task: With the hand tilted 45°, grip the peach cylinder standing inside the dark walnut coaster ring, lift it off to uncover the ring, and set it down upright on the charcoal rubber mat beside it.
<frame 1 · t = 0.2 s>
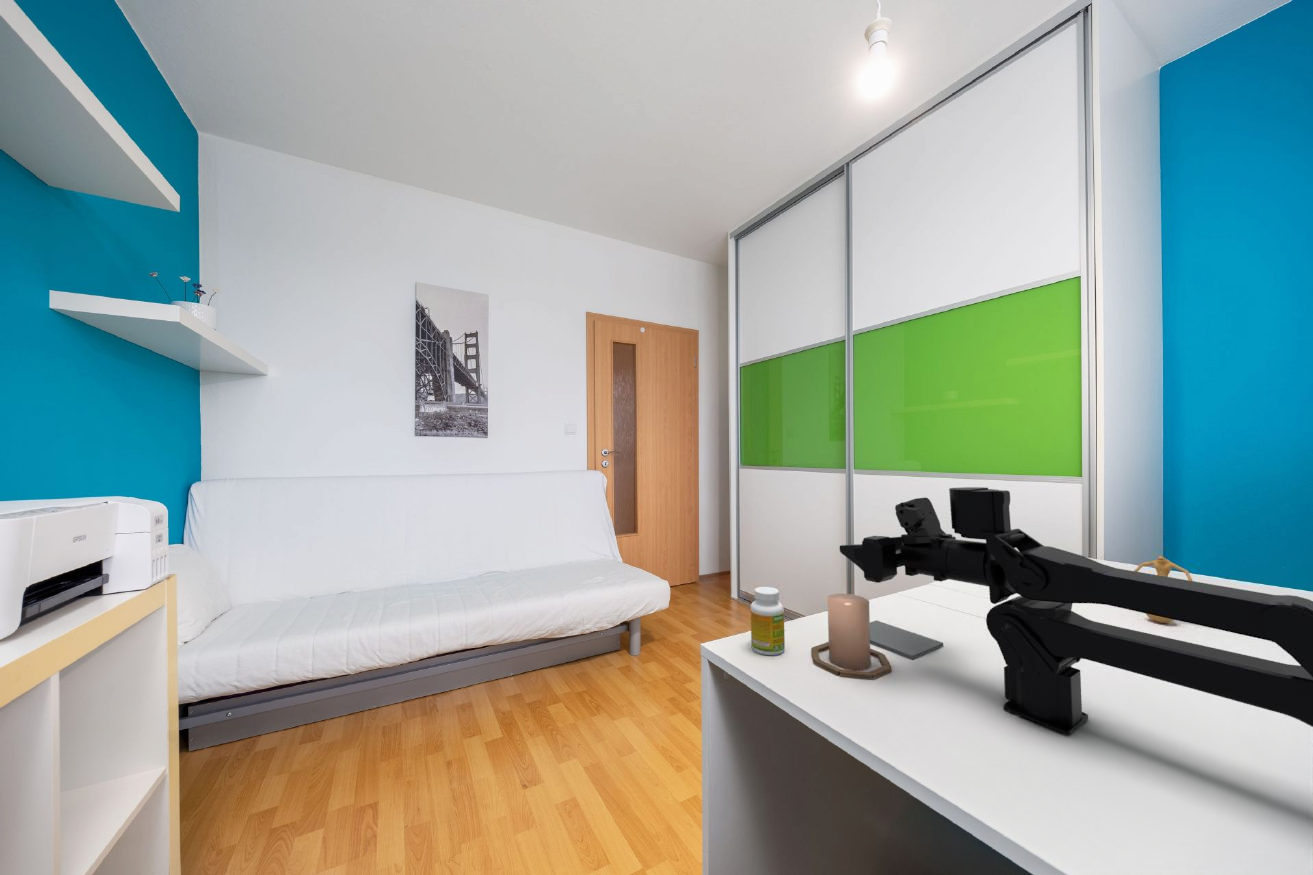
hand: (857, 545, 78), 17 cm above the table, tool horizontal, fingers open, 9 cm apart
rubber mat: (892, 639, 79), on the table
figurine: (1162, 622, 86), on the table
supplement bottle: (767, 650, 76), on the table
peach cylinder: (849, 661, 72), resting in coaster ring
coaster ring: (849, 660, 72), on the table
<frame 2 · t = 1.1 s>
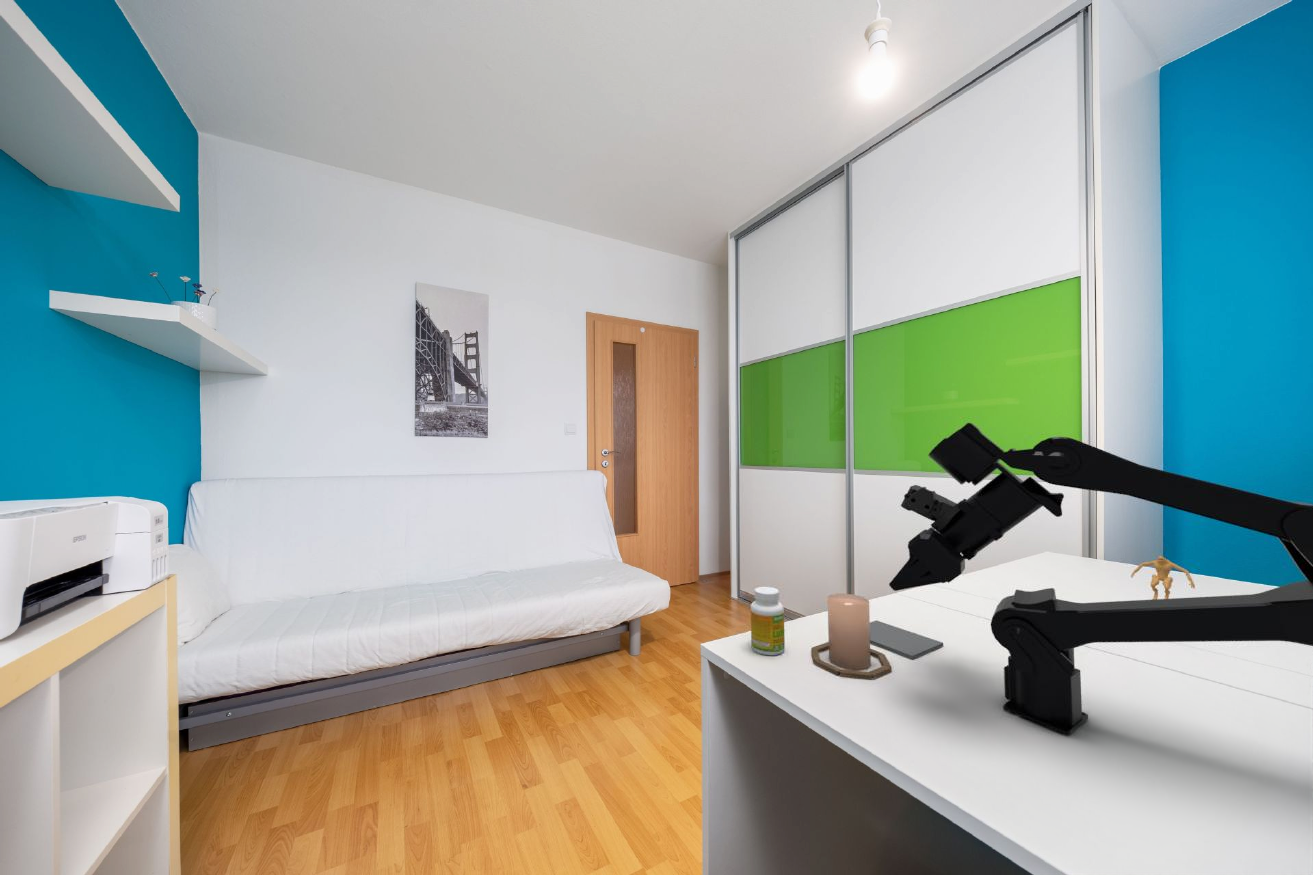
hand: (899, 580, 67), 14 cm above the table, tool tilted 45°, fingers open, 9 cm apart
nothing on the table moved.
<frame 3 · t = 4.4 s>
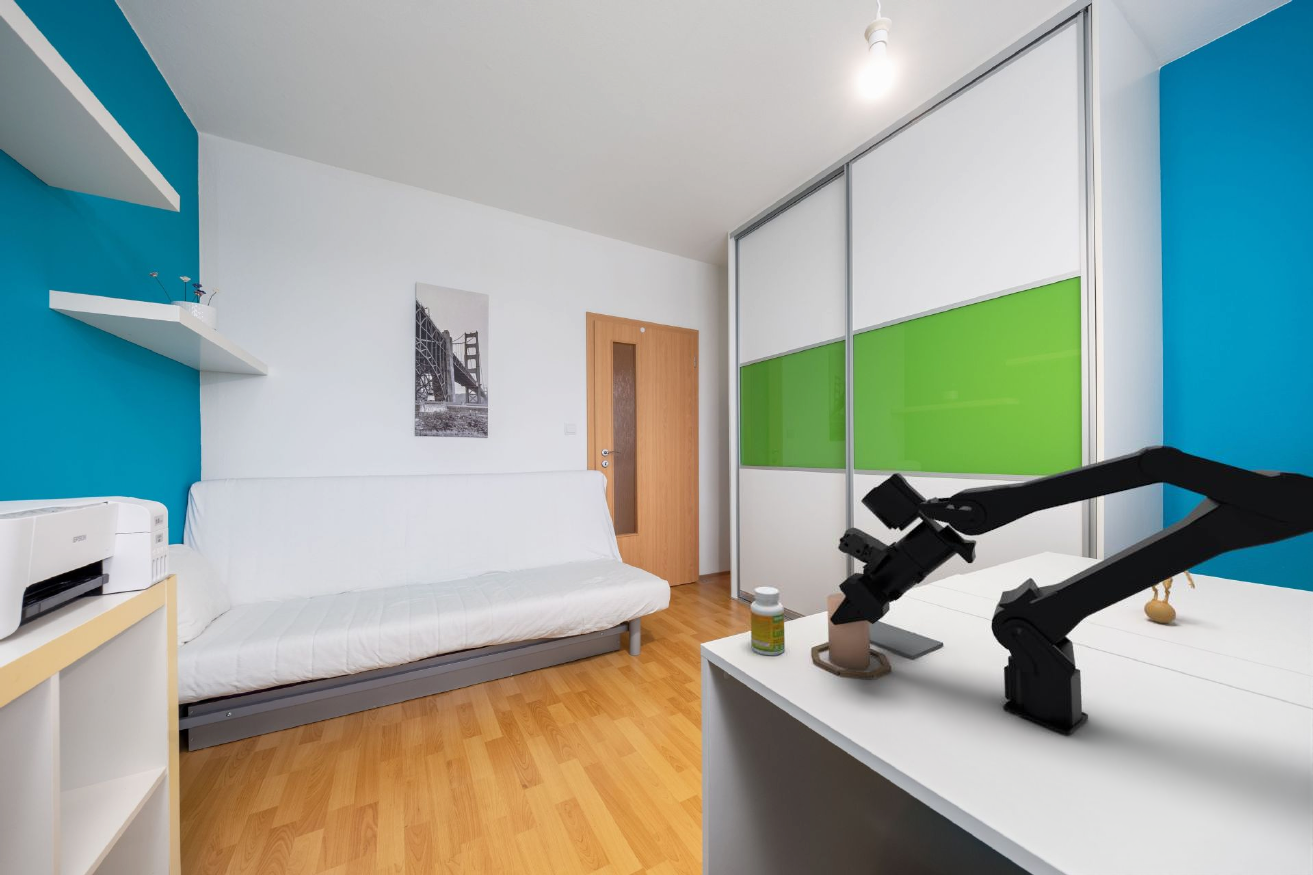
hand: (839, 616, 73), 7 cm above the table, tool tilted 45°, fingers closed on peach cylinder, 6 cm apart
peach cylinder: (849, 660, 72), resting in coaster ring, touching gripper
everything else where it was.
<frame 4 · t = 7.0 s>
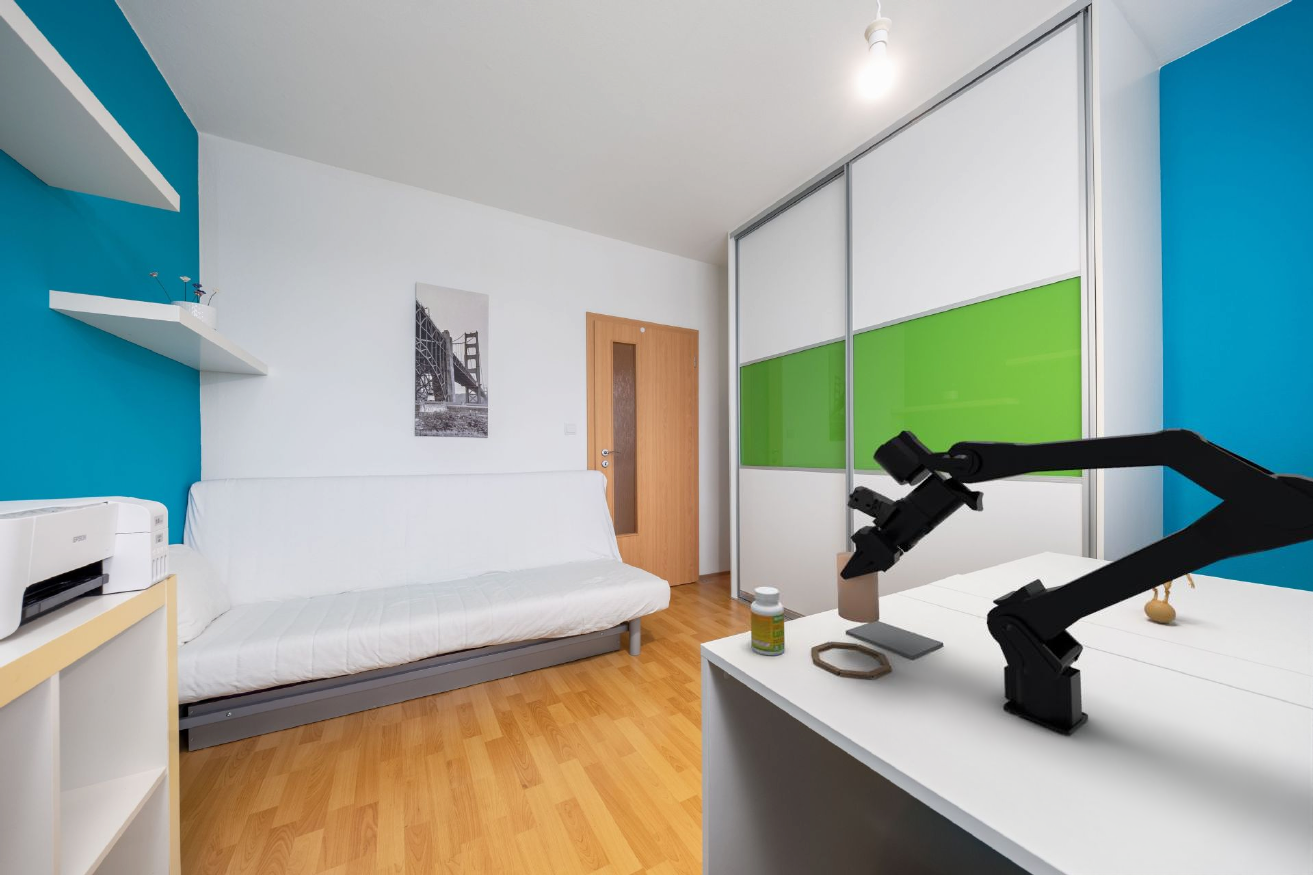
hand: (848, 572, 74), 13 cm above the table, tool tilted 45°, fingers closed on peach cylinder, 6 cm apart
peach cylinder: (858, 615, 73), point 6 cm above the table, touching gripper
everything else where it was.
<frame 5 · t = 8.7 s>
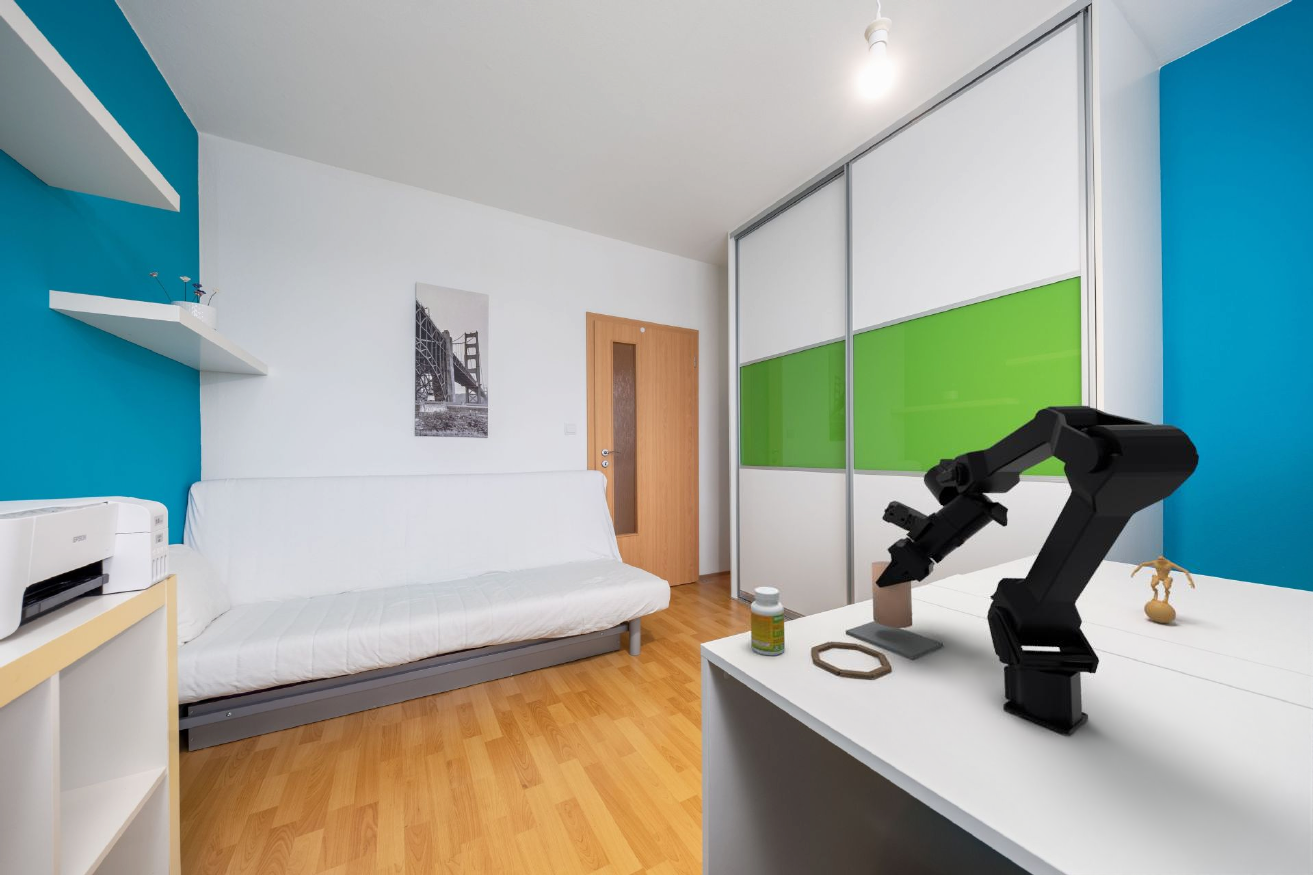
hand: (882, 581, 80), 10 cm above the table, tool tilted 45°, fingers closed on peach cylinder, 6 cm apart
peach cylinder: (892, 621, 79), point 3 cm above the table, touching gripper
everything else where it was.
when the fingers open (8 cm above the table, at t = 9.9 s): peach cylinder stays where it is, resting on rubber mat.
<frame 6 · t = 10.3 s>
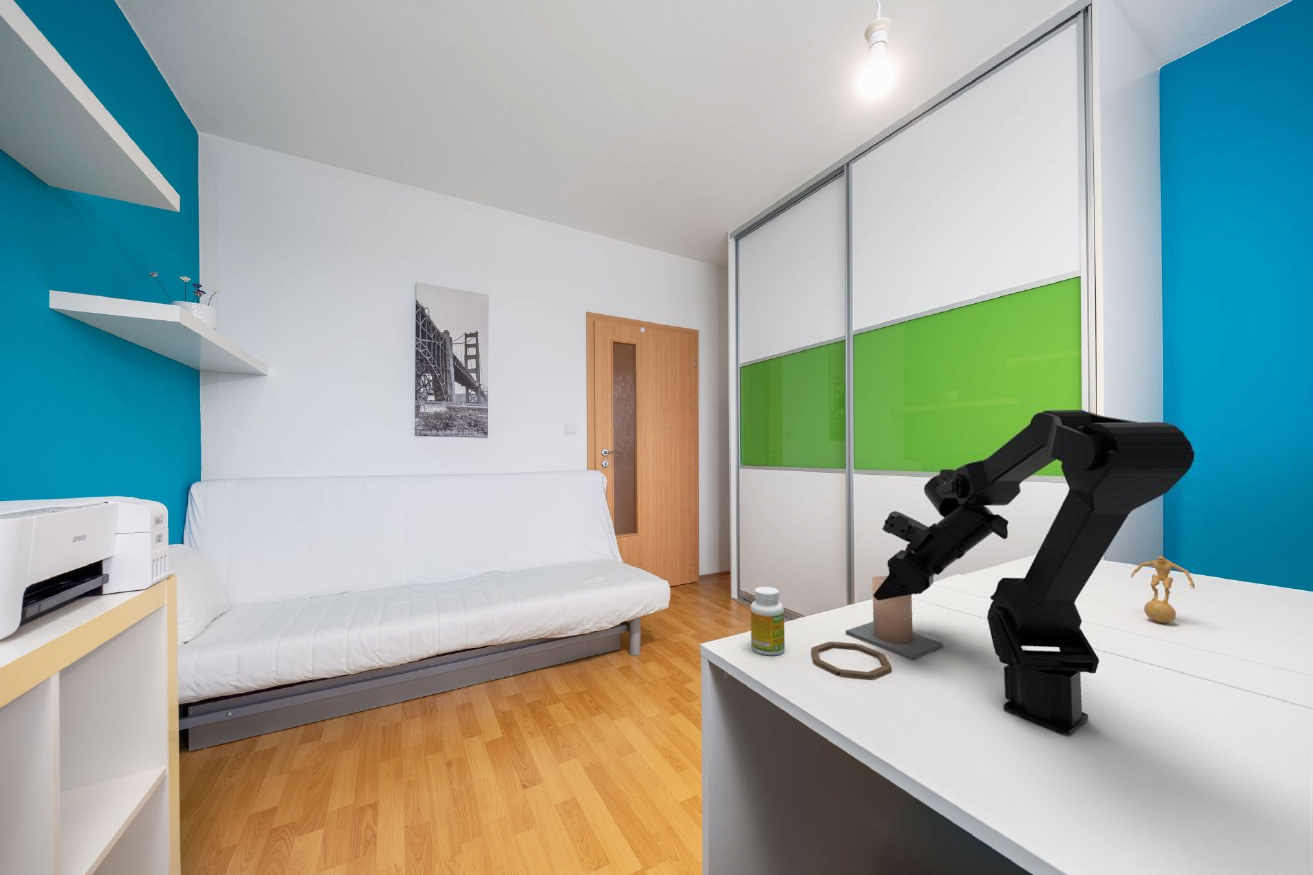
hand: (882, 591, 80), 8 cm above the table, tool tilted 45°, fingers open, 9 cm apart
peach cylinder: (892, 636, 79), point 1 cm above the table, touching rubber mat
everything else where it was.
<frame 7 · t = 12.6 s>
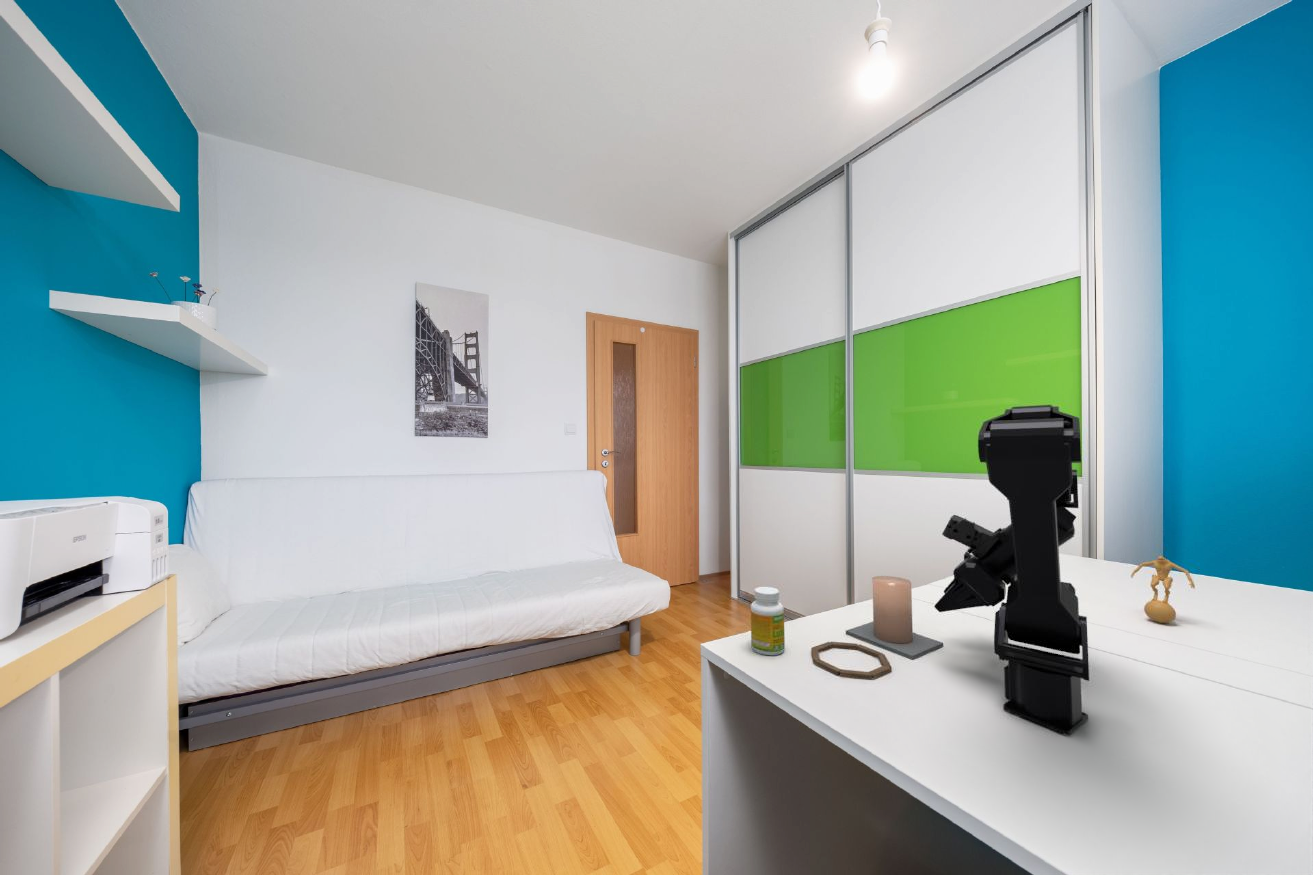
hand: (941, 601, 75), 8 cm above the table, tool tilted 45°, fingers open, 9 cm apart
nothing on the table moved.
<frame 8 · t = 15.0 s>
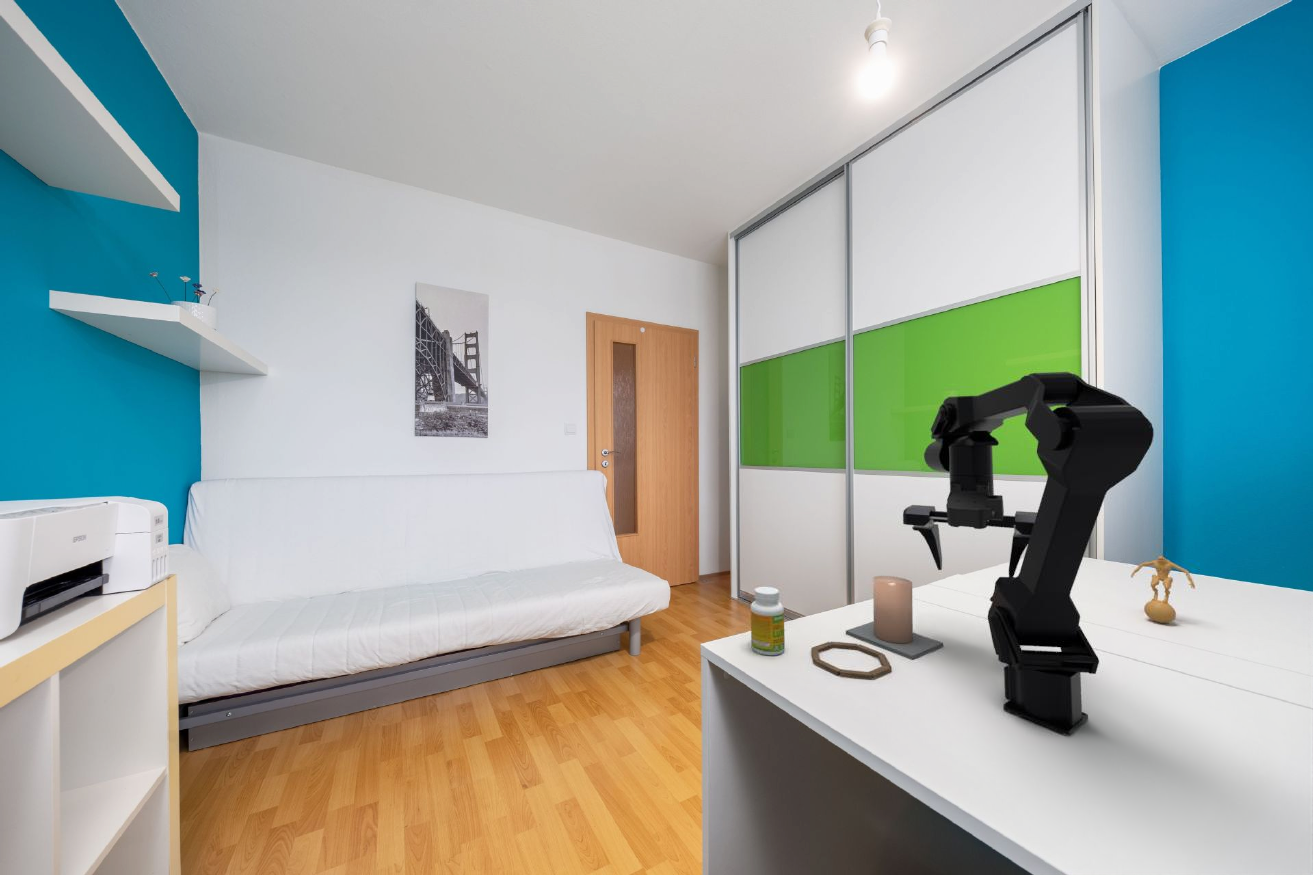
hand: (974, 574, 72), 13 cm above the table, tool pointing down, fingers open, 9 cm apart
nothing on the table moved.
at the end: peach cylinder inside the target area on the rubber mat (0.1 cm from its centre), point 0.7 cm above the rubber mat's base; peach cylinder tilted 1°; the gripper is holding nothing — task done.
